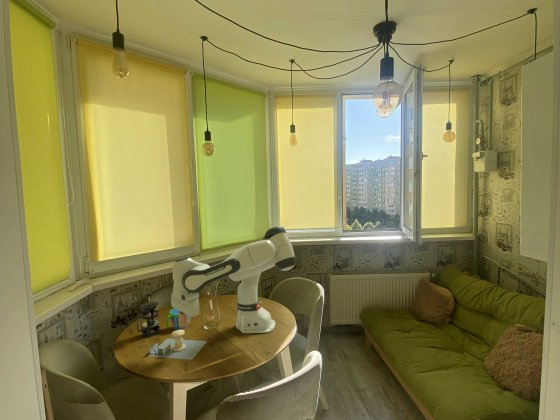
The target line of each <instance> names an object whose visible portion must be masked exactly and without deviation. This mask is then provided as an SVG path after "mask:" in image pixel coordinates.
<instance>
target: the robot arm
mask: <svg viewBox="0 0 560 420" xmlns="http://www.w3.org/2000/svg"><path fill="white" fill-rule="evenodd" d="M295 255H296V254H295V251H294V247H293V245H292V243H291V241H290V238H289V236H288V234H287V231H286V229H285V228H284V226H281V225H278V226H277V225H276V226H272V227H270V228H269V229H267V230H266V232H265V234H264V236H263V237H262V239H261V240H258V241H255V242H250V243H248V244H246V245H243V246H241V247H239V248H238V249H236V250H235V251H234V252H233V253H231V254H230V255H229V256H228V257H227V258H226V259H224V260H223V261H221V262H220V263H219V262H218V263H217V264H214V265H211V266H210V264H207V263H203V262H199V261H196V260H194V259H192V258H191V257H190V256H185V257H181V258H177V259H176V260H174V261H173V264H172V280H173V287H172V289H173V290H172V293H171V295H170V305H171V307H172V309H174V308H175V309H177V310H178V313H179V312H180V311H181V312H183V313H185V314H186V316H187V317H186V319H185V320H186V321H185V322H187V323H189V322H190V318H191V317H192V318H194V317H197V316H199V313H200V302H199V298H200V294H199V292H201V291H202V290H203V289H204V288H205V287H206V286H207V285H208V284H211V283H213V282H215V281H218V280H221V279H223V278H225V277H227V276H228V278H229V279H230V280H231V281H233V282H240V281H241V282H240V284H239V285H238V287H237V301H236V309H237V319H236V324H235V328H236V330H238V331H240V333H242V334H255V333H256V334H261V333H263V334H264V333H266V334H267V333H271V332H272V331H273V330H274V329H275V327H276V320H274V319H272V316H271V314H270V312H269V311H267V310H266V309H265V308H264V307H262V300H260V301H259V299H258V286H259V281H260V277H261V274H262V272H264V271H265V272H266V271H268V270H269V269H272V268H273V267H276V269H277V270H278V271H285V272H286V271H290V270H292V269H293V268H294V267H295V266H296V265H297V257H296V256H295ZM192 318H191V319H192Z"/></svg>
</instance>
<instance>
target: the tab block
mask: <svg viewBox="0 0 560 420" xmlns="http://www.w3.org/2000/svg"><path fill="white" fill-rule="evenodd" d="M178 317H179V325H180V326H181V327H186V326H187V327H188V326H191V325H192V321H191V320H192V318H190V322H189V323H187V322H185V321H186V320H185V319H186V317H187V316H186V314H185V313H183V312H181V311H180V312H179V313H178ZM187 327H186V328H187Z"/></svg>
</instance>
